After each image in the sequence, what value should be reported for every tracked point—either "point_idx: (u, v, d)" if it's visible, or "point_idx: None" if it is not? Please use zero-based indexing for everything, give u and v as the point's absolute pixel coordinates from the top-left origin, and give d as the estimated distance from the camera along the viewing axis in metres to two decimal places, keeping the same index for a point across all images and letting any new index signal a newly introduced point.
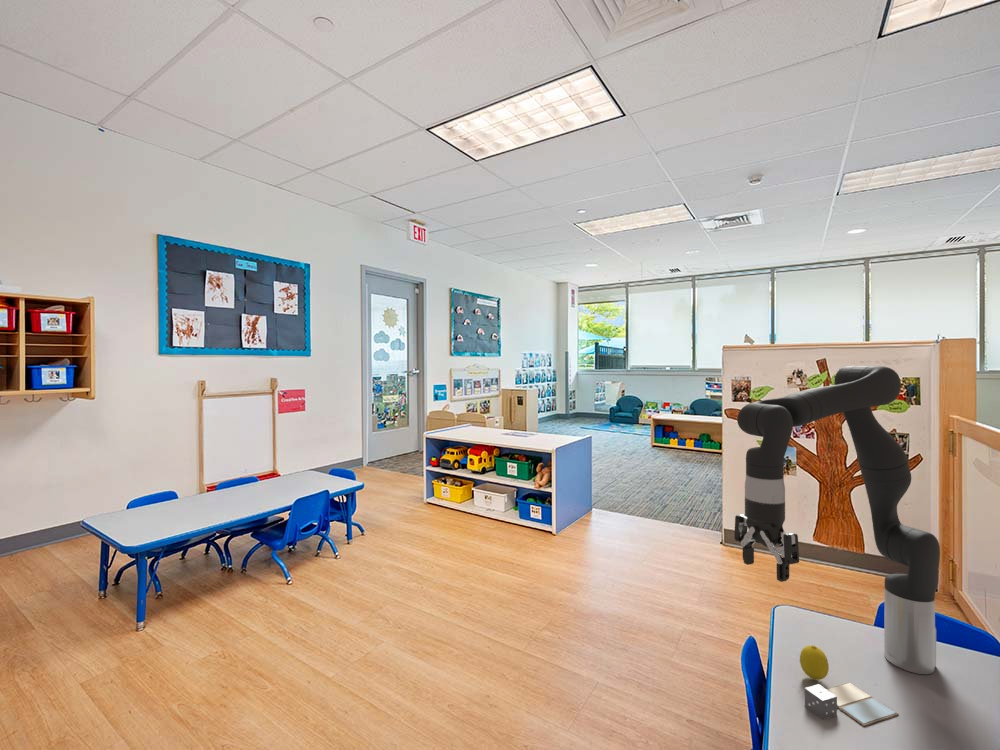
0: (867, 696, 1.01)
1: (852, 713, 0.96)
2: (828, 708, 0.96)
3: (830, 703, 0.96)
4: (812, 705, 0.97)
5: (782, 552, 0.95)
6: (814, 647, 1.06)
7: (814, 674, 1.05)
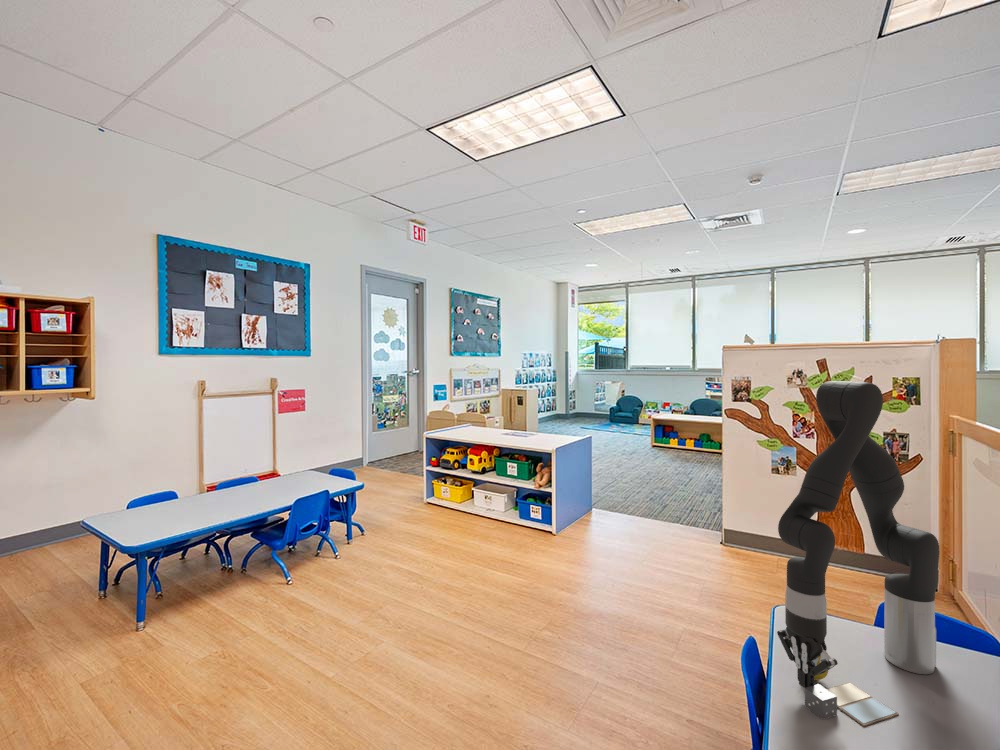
0: (867, 696, 1.01)
1: (852, 713, 0.96)
2: (828, 708, 0.96)
3: (830, 703, 0.96)
4: (812, 705, 0.97)
5: None
6: None
7: None
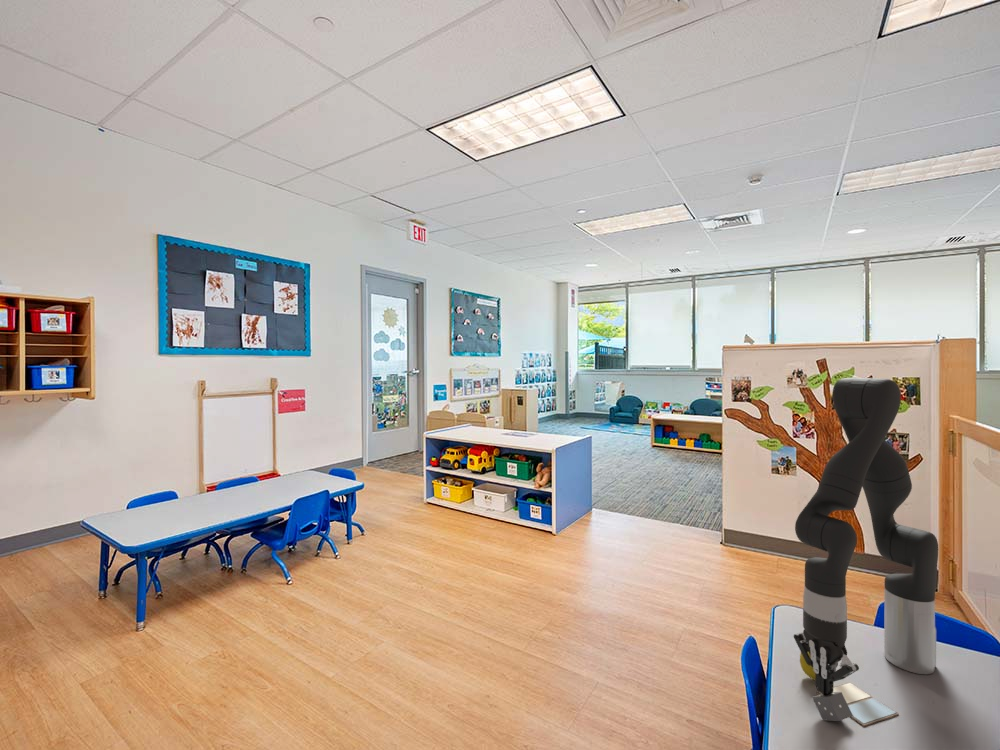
0: (867, 696, 1.01)
1: (852, 713, 0.96)
2: None
3: None
4: (823, 707, 0.95)
5: None
6: None
7: (814, 674, 1.05)
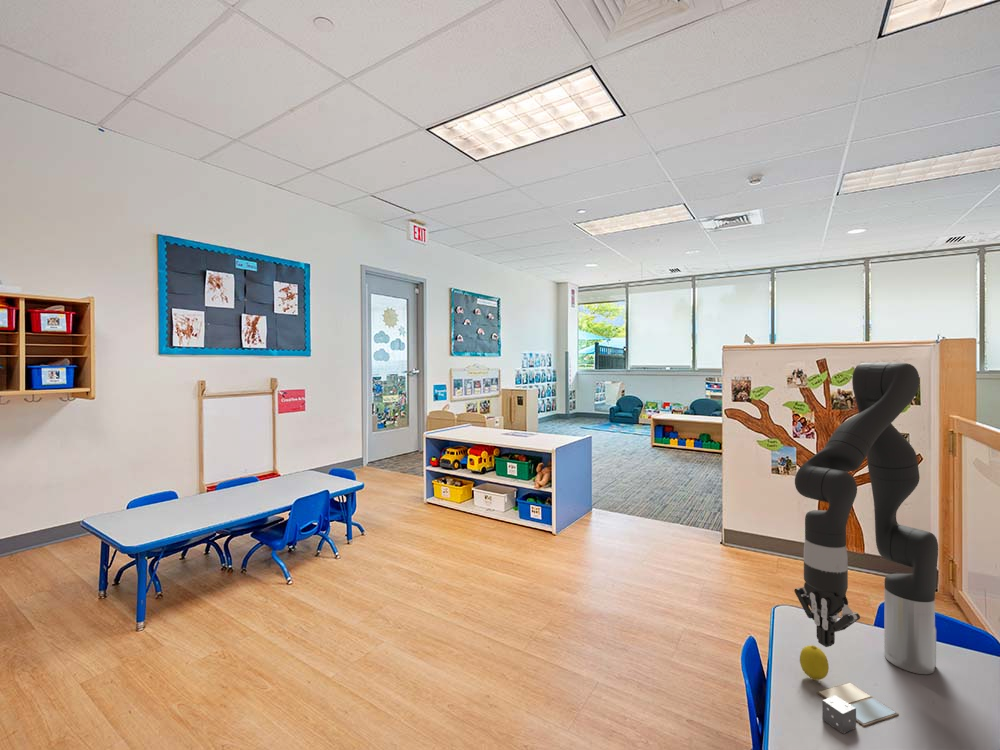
0: (867, 696, 1.01)
1: None
2: None
3: None
4: (830, 714, 0.93)
5: None
6: (814, 647, 1.06)
7: (814, 674, 1.05)
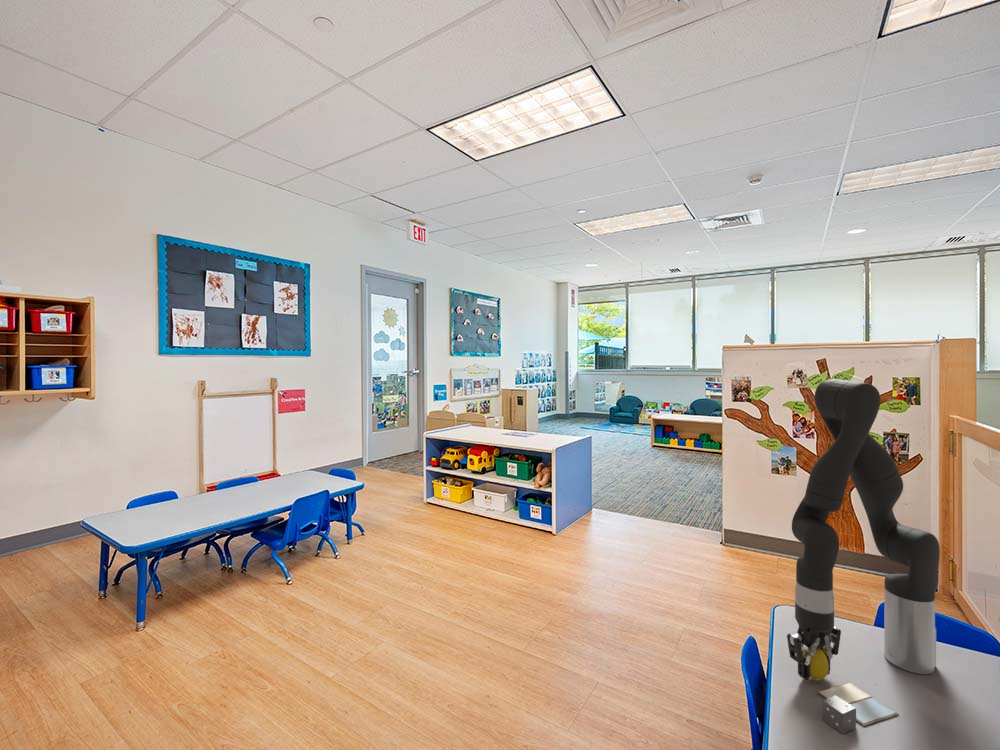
0: (867, 696, 1.01)
1: None
2: None
3: None
4: (830, 714, 0.93)
5: None
6: None
7: (814, 674, 1.05)
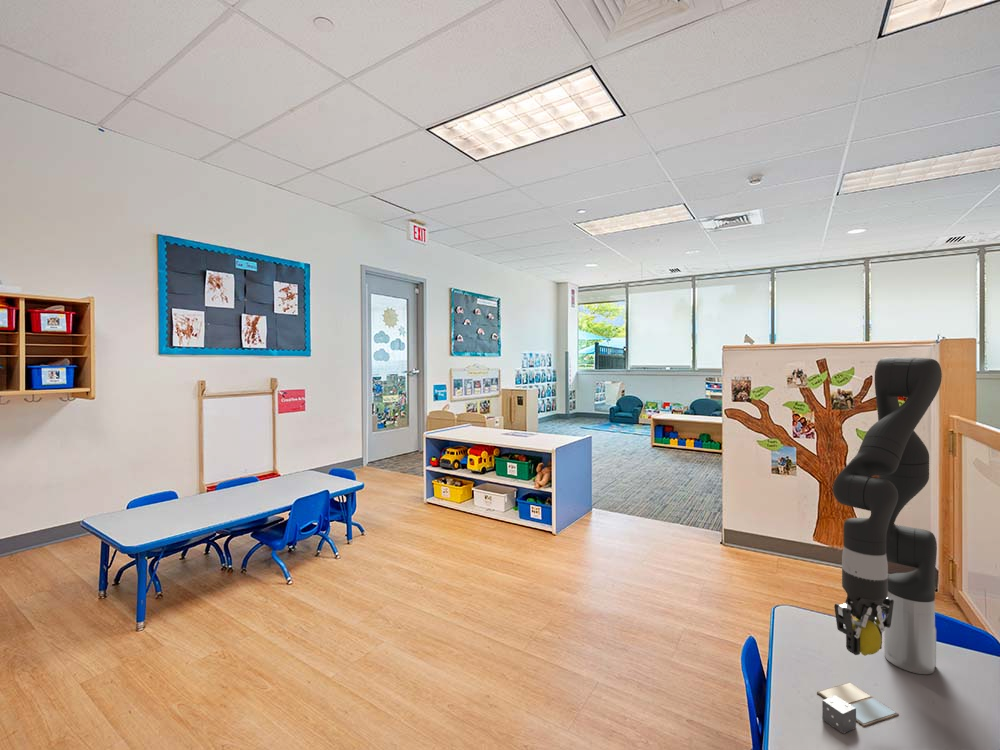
0: (867, 696, 1.01)
1: None
2: None
3: None
4: (830, 714, 0.93)
5: None
6: None
7: (865, 648, 0.94)
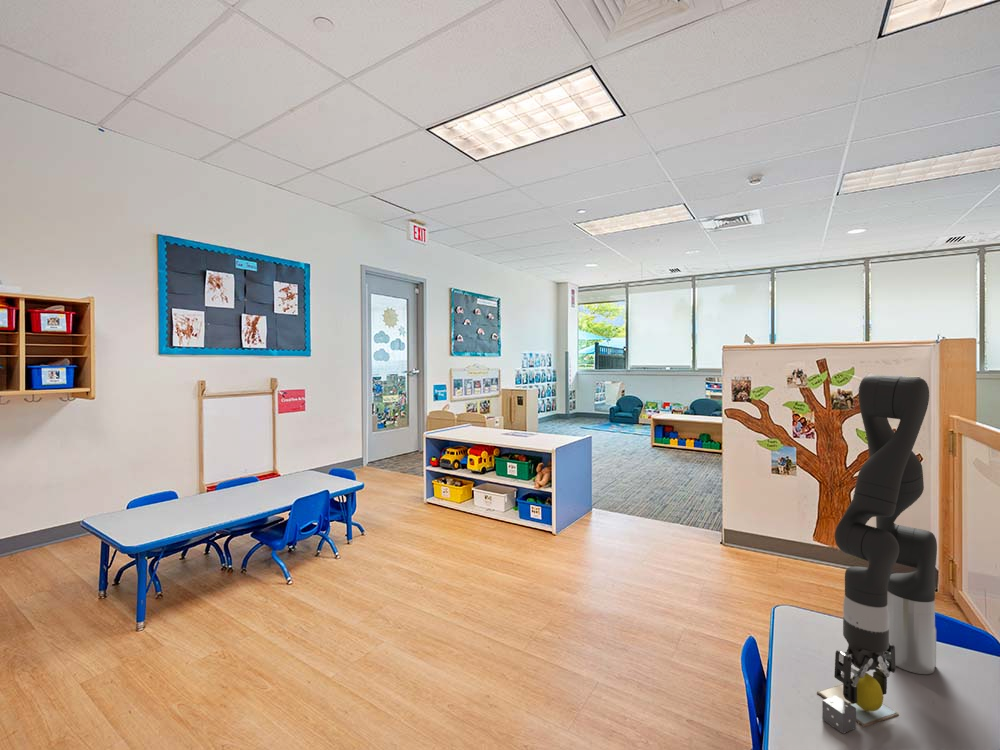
0: None
1: None
2: None
3: None
4: (830, 714, 0.93)
5: None
6: (866, 675, 0.96)
7: (867, 705, 0.94)
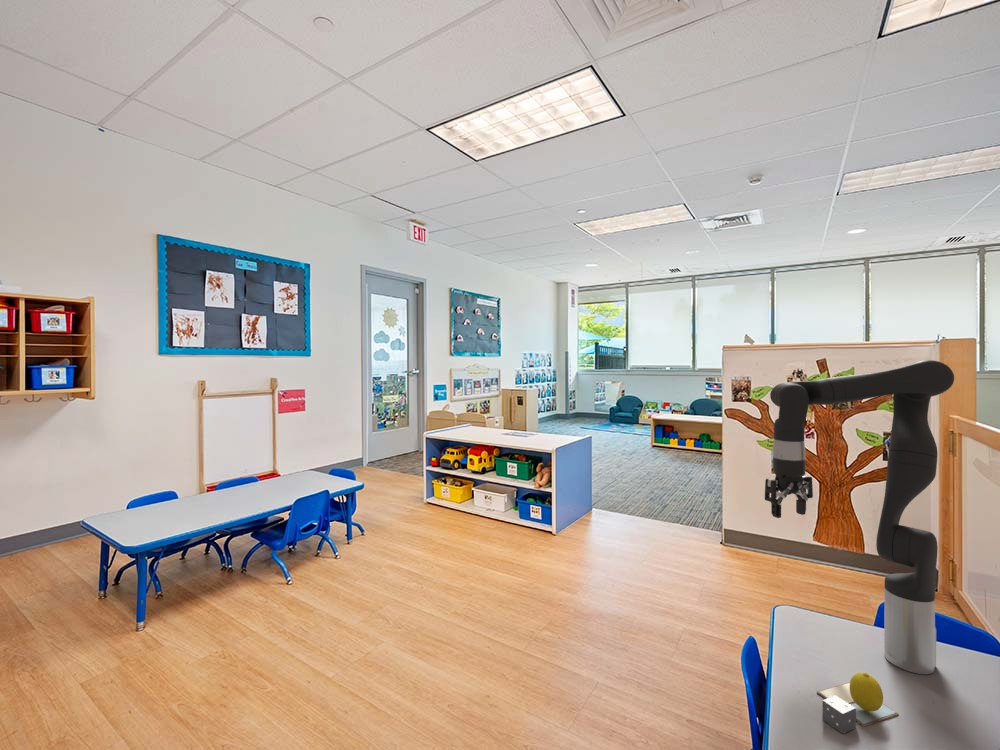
0: None
1: None
2: None
3: None
4: (830, 714, 0.93)
5: None
6: (866, 675, 0.96)
7: (867, 705, 0.94)
